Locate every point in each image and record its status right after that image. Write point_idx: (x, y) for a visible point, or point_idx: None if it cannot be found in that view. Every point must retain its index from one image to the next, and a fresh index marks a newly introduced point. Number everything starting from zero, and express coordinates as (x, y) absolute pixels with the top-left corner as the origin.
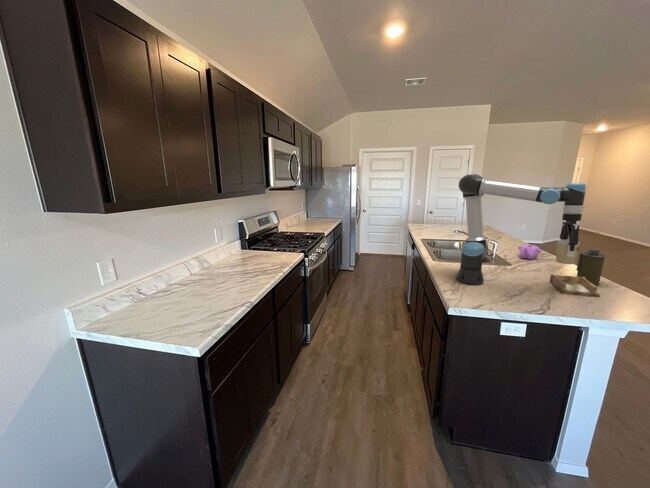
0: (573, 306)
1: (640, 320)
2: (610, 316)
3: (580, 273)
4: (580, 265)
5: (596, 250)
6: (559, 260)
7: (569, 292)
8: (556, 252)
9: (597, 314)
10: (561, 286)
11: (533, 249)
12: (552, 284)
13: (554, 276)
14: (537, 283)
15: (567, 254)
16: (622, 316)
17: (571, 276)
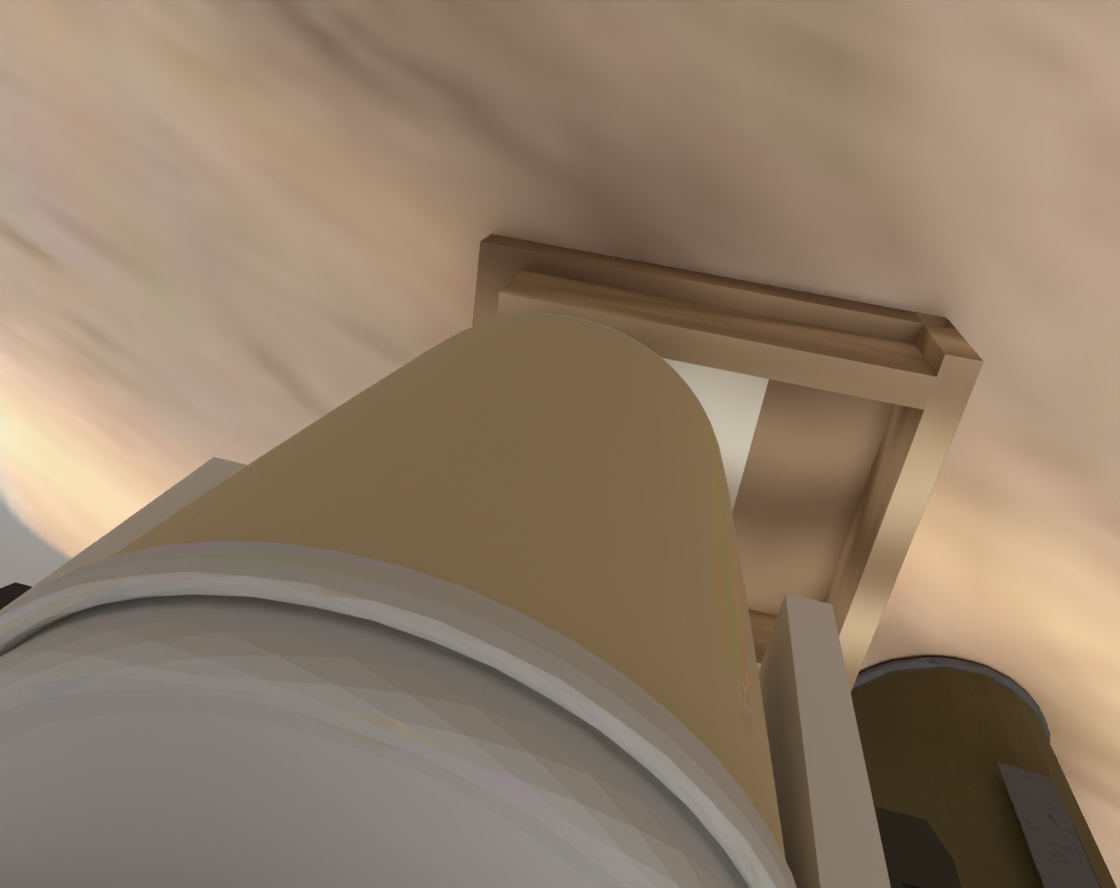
0: (117, 149)
1: (38, 519)
2: (15, 354)
3: (954, 755)
4: (1021, 859)
5: None
6: (453, 338)
7: (474, 320)
8: (568, 393)
9: (8, 270)
10: (556, 286)
11: None
12: (813, 295)
13: (862, 361)
14: (886, 99)
15: (173, 486)
16: (59, 447)
17: (863, 593)
